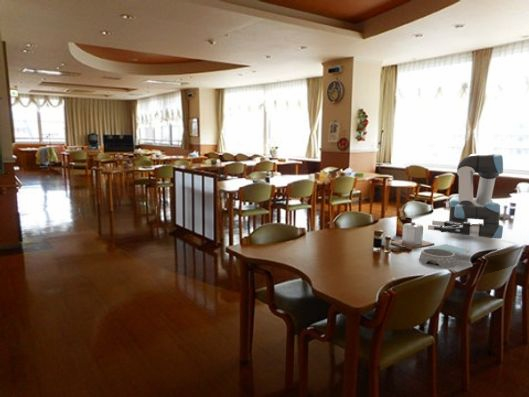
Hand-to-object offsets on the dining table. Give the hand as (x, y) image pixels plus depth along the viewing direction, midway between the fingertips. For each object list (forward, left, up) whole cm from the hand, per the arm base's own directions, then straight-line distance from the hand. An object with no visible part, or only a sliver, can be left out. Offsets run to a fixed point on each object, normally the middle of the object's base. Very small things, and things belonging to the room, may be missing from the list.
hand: (430, 224), depth 227 cm
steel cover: (+5, -9, -12) cm, 16 cm away
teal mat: (-5, +9, -14) cm, 17 cm away
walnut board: (+5, -9, -14) cm, 17 cm away
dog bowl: (+19, +21, -14) cm, 32 cm away
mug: (-9, -26, -14) cm, 31 cm away
